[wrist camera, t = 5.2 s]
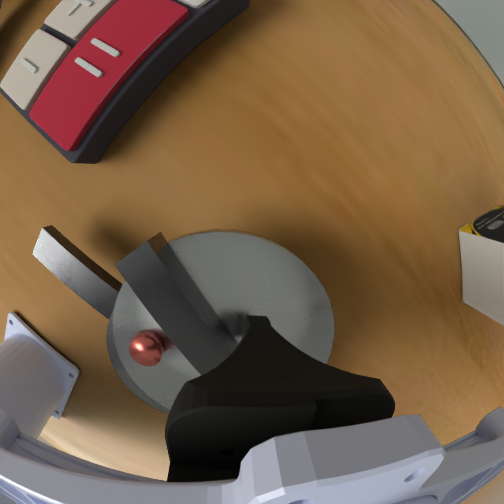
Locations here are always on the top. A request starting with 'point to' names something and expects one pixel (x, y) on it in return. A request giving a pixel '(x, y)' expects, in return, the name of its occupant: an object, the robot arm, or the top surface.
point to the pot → (87, 291)
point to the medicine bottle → (484, 263)
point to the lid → (211, 305)
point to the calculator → (104, 65)
